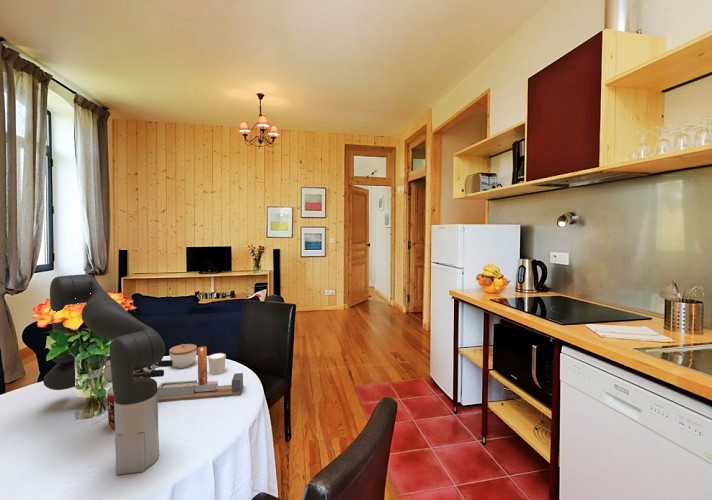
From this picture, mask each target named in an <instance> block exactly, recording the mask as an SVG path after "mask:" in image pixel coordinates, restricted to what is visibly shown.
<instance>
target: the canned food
mask: <svg viewBox="0 0 712 500" xmlns="http://www.w3.org/2000/svg"><path fill="white" fill-rule="evenodd" d="M106 397H107V420H108V421H107V422H108V426H109V428H110V429H113V430H115V414H114V413H115V412H114V393H113V387H112V386H111V387H110V388H108V389H107V396H106Z"/></svg>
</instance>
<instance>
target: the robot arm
mask: <svg viewBox="0 0 712 500" xmlns="http://www.w3.org/2000/svg"><path fill="white" fill-rule="evenodd" d="M90 293H91V294H90ZM75 298H76V299H75ZM49 303H50V310H51V309H52V310H53V311H56V312H57V311H60V310H62V309H63V308H64V307H66V306H71V304H72V305H78V304H77V303H79V304H84V306H83V308H82V310H81V320H82V321H83V323H84V324H85V326H86V327H87V328H89V330H90V331H91V332H93V334H95V335H96V336H97V335H98V336H99V337H103V338H106V339H110V340H111V342H110V344H109V351H108V352H109V360H106V361H107V362H106V365H105V368H104V379H105V380H106V381H107V382H108V383H107V384H112V386H111V388H112V387H113V393H114V412H115V413H114V414H115V429H114V436H115V437H114V440H115V441H114V444H115V447H114V448H115V451H114V452H115V475H125V474H134V473H143V472H145V471H146V469H147V468H149V467H151V466H152V465H153V464H155V462H156V461H158V459H159V457H160V439H159V438H160V437H159V435H160V434H159V432H160V431H159V405H158V404H159V402H158V393H157V388H158V383H157V380H155V379H154V378H159V377H161V378H162V377H164V376H165V370H164V369H158V368H166V367H167V368H168V367H169V368H170V367H172V366H174V365H173V361H172V360H170V359H165V360H164V359H163V358H165V355H166V345H165V342H164V340H163V338H162V336H161V335H160V334H159V333H158V332H157V331H156V330H155V329H153V327H150V326H148V325H147V324H145V323H143V322H142V321H140V320H138V319H137V318H136V317H135V316H133V315H132V314H131V313H129V311H127V310H126V309H125V308H124V307H123V306H122V304H120V303H119V302H118V301H116V300H115V299H114V298H113V297H112V296H111V295H110V294H108V293H107V292H106V290H105V289H104V288H103V287H102V286H101V285H100V282H98V280H97V279H96V278H95V277H94V276H93V275H92V274H91V275H90V274H86V273H85V274H73V275H72V274H71V275H60V276H56V277H54V278H53V279H52V280H51V282H50V286H49ZM51 326H52V331H53V330H67V329H66V328H65V327H64V326H63V324H62V323H59V324H56V323H54V324H52V323H51ZM51 360H52V362H54V363H56V364H55V365H54V367H52V369H50V370H49V371H48V372H47V373H46V374H45V375H44V377H43V385H44V386H45V387H46V388H47V389H48V390H49V389H50V390H53V391H62V390H69V389H71V388H76V387H75V369H74V357H73V356H72V355H66V356H65V357H63V358H60V359H58V358H56V359H52V358H51Z"/></svg>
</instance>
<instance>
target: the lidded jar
mask: <svg viewBox="0 0 712 500" xmlns="http://www.w3.org/2000/svg"><path fill="white" fill-rule="evenodd" d="M197 348H198V347H197V345H196V344H192V343H187V344H186V343H185V344H184V343H181V344H178V345H175V346H173V347H171V348H170V349H169V350H168V352H169V358H170V359H169V360H172V361H173V365H172V366H175V368H176V369H185V368H189V367H191V366H192V364H193V363H194V362H195V360H196V358H197V354H198V350H197Z"/></svg>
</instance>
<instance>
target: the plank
mask: <svg viewBox="0 0 712 500" xmlns="http://www.w3.org/2000/svg"><path fill="white" fill-rule="evenodd" d="M243 389H244V386H243V387H242V390H241V392H236V393H232V384H227V385H226V384H225V385H218V388H217V390H215V391H202V392H194V395H186V396H174V397H161V398H160V397H158V403H164V402H175V401H176V402H178V401H189V400H200V399H203V400H204V399H212V398H215V399H216V398H225V397H228V398H229V397H237V396H241V394H242V393H243Z"/></svg>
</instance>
